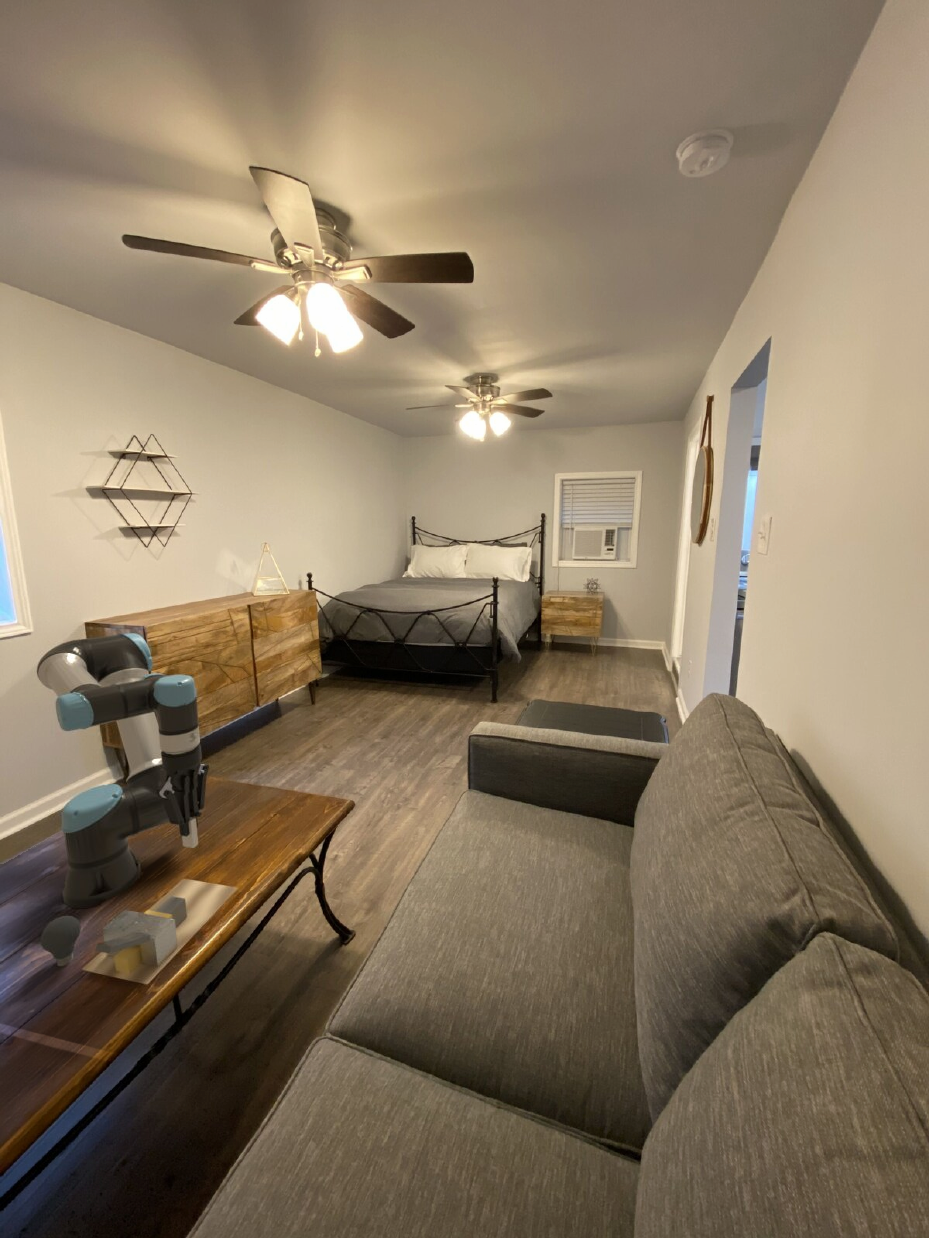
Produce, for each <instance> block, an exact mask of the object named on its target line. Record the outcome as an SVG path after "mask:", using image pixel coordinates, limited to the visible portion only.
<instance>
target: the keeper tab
mask: <svg viewBox="0 0 929 1238" xmlns="http://www.w3.org/2000/svg"><path fill="white" fill-rule="evenodd" d="M150 937H151V935H150V934H145V933H140V932H136V933H133V934H130V935H126V936H123V937H119V938H116V939H113V940H109V941H106V942H104V941H103V942H99V943H97V944H96V947H95V950H94V951H95V952H99V953H101V952H104V953H109V954H110V953H113V952H116V951H119V950H122V949H126V948H129V947H132V946H135V945H138V944H141V943H144V942H147V941H149V940H150Z"/></svg>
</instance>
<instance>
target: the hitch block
mask: <svg viewBox="0 0 929 1238" xmlns="http://www.w3.org/2000/svg"><path fill="white" fill-rule="evenodd" d="M136 932H140V933H145V934H150V935H151V937H150V940H149V941H147V942H144V943H141V944H138V945H140V947H141V955H142V963H143V964H144V965H149V966H154V967H159V966H160V965H161V964H162V963H163V962H164V961H165V960H166V959H167V958H168V957H169V955H170V954H171V953H172V952H173V951H174V950H175V949H176V948H177V947H178V943H177V935H176V926H175V919H171V918H166V917H160V916H155V915H150V914H144V912H139V911H132V910H128V909H124V910H123V911H122V912H120V913H119V914H117V916H115V917H114V918H113V919H112V920H111V921H109V922H108V923H106V925H104V926H103V927H102V935H103V936H102V937H103V942H106V941H109V940H113V939H116V938H119V937H123V936H126V935H130V934H133V933H136ZM120 951H121V950H119V951H116V952H113V953H110V954H109V953H106V956H107V957H111V958H114V957H115V956H116V955H117V954H118V953H119V952H120Z"/></svg>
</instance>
